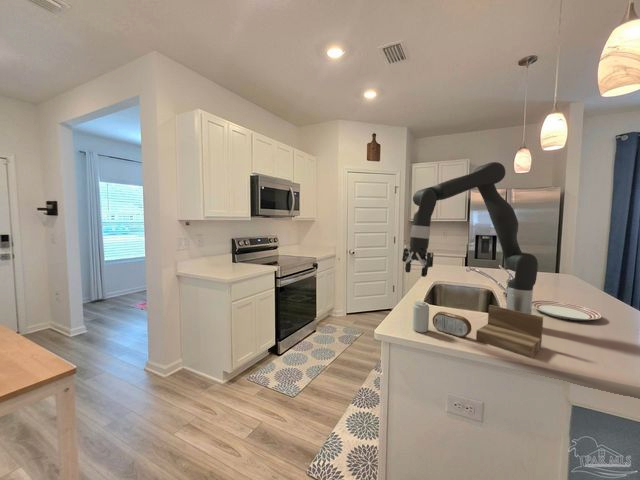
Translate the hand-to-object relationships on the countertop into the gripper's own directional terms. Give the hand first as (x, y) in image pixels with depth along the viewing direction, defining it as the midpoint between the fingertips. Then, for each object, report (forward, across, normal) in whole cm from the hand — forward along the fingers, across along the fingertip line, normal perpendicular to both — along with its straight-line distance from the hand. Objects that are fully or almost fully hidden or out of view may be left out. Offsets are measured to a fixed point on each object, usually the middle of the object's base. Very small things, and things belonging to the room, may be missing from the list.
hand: (415, 274), depth 120 cm
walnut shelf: (+21, -29, -22) cm, 42 cm away
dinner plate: (+17, -24, -84) cm, 89 cm away
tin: (+23, -12, -12) cm, 29 cm away
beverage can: (+24, -3, -3) cm, 25 cm away
